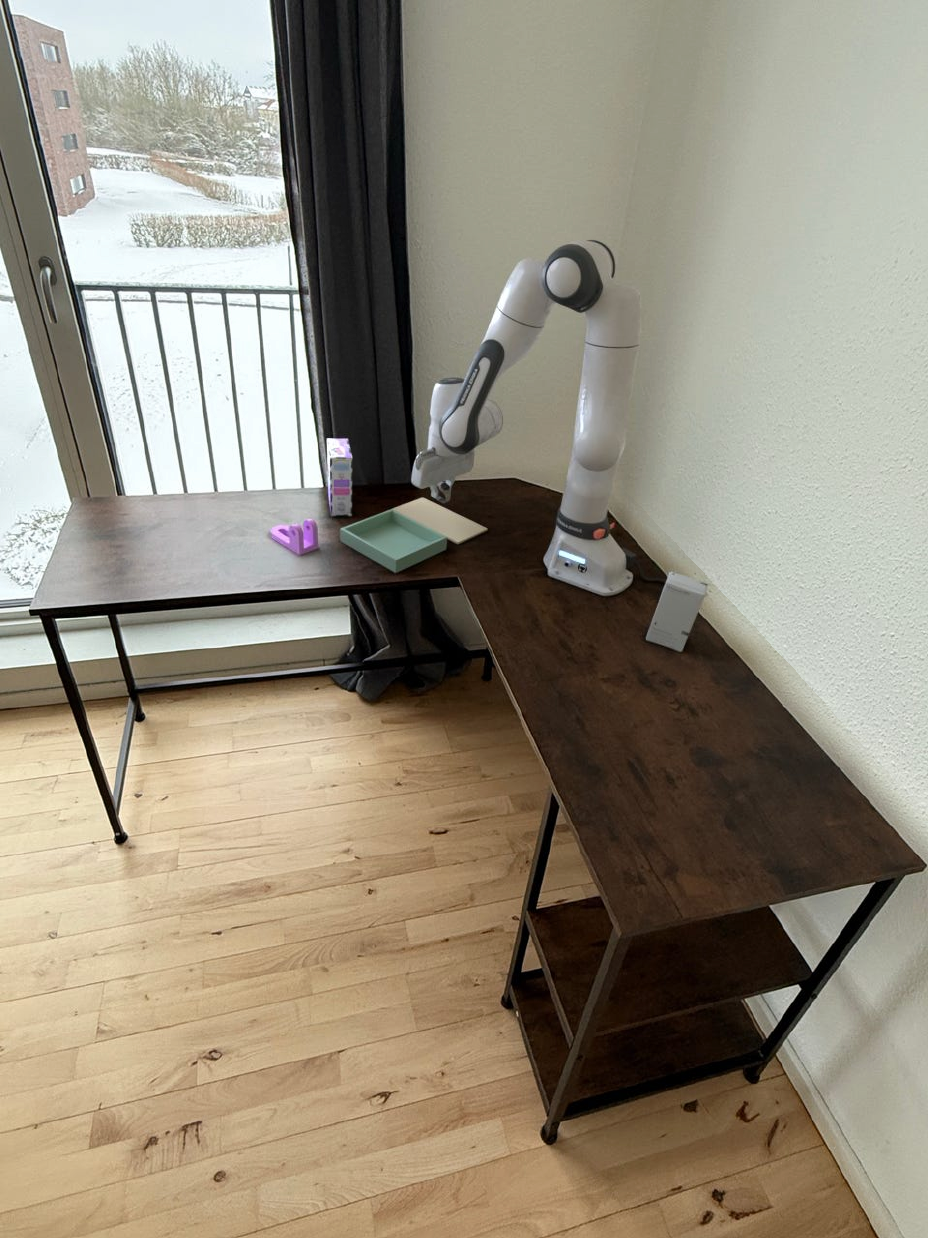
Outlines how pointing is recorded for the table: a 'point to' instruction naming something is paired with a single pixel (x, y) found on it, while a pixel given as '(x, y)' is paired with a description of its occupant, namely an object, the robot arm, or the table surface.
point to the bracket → (297, 536)
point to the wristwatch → (444, 492)
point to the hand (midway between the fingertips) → (440, 494)
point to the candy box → (339, 477)
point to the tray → (393, 540)
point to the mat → (441, 520)
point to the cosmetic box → (676, 611)
